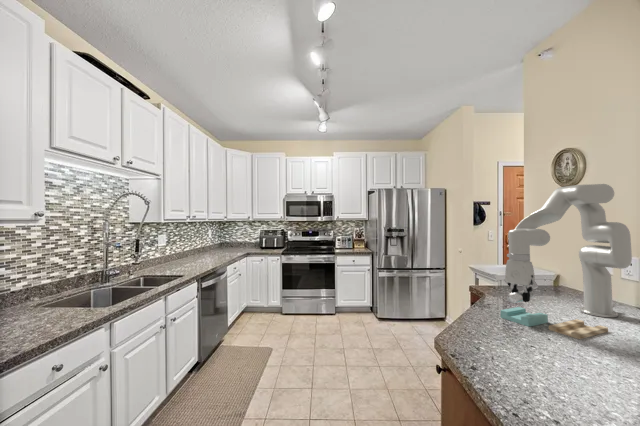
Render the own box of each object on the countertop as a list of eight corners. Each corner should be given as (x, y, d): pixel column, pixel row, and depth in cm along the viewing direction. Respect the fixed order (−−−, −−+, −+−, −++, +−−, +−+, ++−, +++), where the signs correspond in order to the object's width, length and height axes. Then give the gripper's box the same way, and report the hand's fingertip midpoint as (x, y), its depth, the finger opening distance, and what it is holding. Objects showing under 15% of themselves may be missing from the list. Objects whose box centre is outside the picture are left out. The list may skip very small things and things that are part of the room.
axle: (525, 296, 126) (525, 288, 126) (535, 299, 122) (534, 290, 122) (507, 301, 122) (506, 292, 122) (516, 304, 118) (515, 295, 118)
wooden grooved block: (576, 324, 117) (576, 319, 117) (608, 333, 108) (608, 327, 108) (548, 331, 111) (548, 325, 111) (579, 341, 102) (579, 334, 102)
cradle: (519, 315, 130) (518, 306, 130) (548, 324, 119) (547, 314, 119) (500, 319, 126) (500, 310, 126) (528, 328, 114) (528, 318, 115)
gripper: (495, 256, 129) (496, 296, 129) (534, 260, 113) (535, 306, 113) (506, 255, 132) (508, 294, 131) (546, 259, 116) (547, 304, 115)
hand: (520, 299), depth 122 cm, fingers closed on axle, 4 cm apart
